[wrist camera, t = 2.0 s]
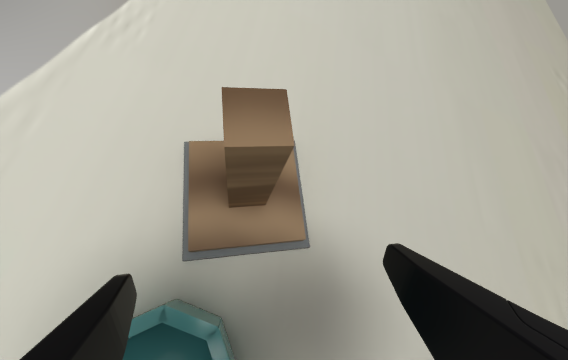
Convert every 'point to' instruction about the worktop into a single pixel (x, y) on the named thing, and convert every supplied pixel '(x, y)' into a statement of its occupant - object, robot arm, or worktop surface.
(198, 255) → the mat
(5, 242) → the worktop surface
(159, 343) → the bowl
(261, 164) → the brown upright piece
